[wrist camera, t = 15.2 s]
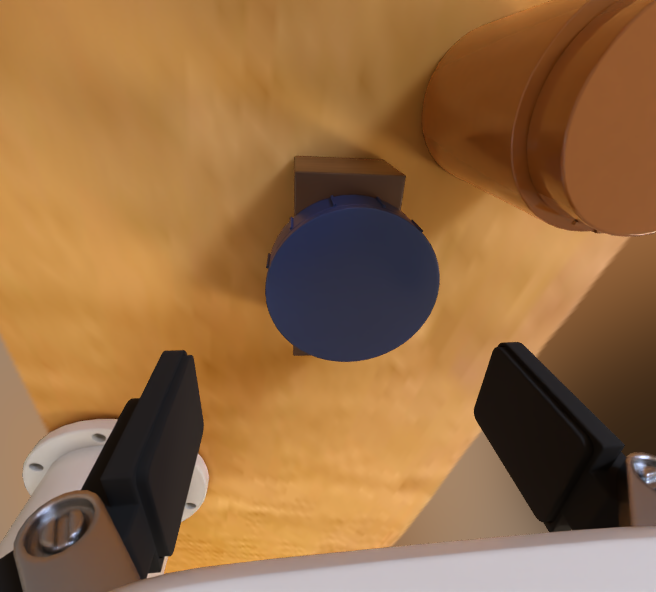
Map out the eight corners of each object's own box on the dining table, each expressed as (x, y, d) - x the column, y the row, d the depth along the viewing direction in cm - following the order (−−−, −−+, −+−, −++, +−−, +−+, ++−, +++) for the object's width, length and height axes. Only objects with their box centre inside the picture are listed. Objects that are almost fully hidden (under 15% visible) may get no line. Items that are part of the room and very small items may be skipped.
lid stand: (364, 313, 22) (378, 355, 18) (293, 313, 21) (293, 356, 18) (383, 159, 18) (406, 175, 14) (294, 155, 17) (294, 171, 14)
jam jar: (532, 182, 19) (723, 252, 10) (410, 177, 18) (510, 248, 10) (583, 26, 15) (920, -52, 7) (437, 13, 15) (620, -88, 6)
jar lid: (265, 191, 14) (261, 204, 12) (439, 196, 15) (458, 209, 13) (270, 337, 17) (268, 363, 16) (411, 336, 18) (422, 361, 16)
